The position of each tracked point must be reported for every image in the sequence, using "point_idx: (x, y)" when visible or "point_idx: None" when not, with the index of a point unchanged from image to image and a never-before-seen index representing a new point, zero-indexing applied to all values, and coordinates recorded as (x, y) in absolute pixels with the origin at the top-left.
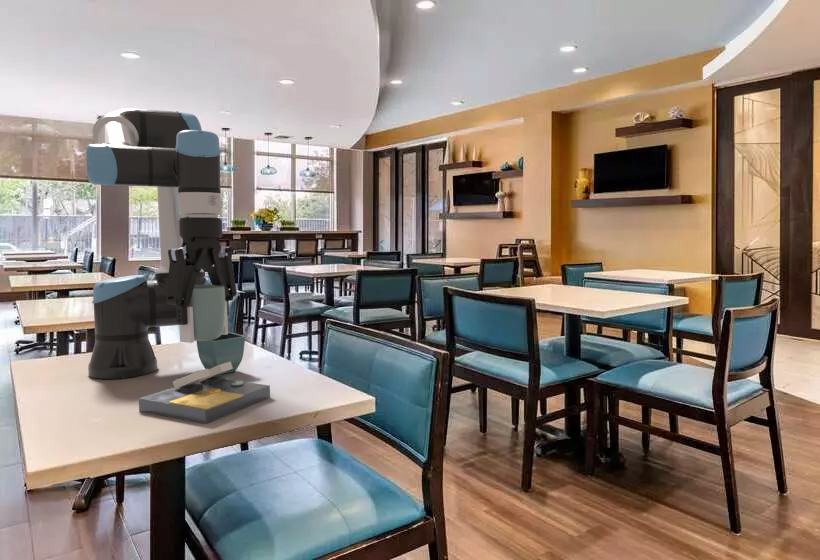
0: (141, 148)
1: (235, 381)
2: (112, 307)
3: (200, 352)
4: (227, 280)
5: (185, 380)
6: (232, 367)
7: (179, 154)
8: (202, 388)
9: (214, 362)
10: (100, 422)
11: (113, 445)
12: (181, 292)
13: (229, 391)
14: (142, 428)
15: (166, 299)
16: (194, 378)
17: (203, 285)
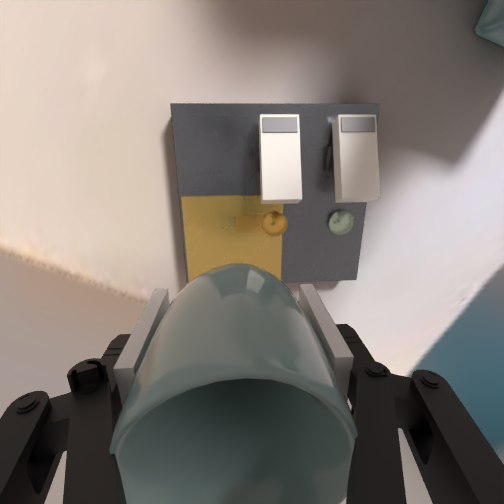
0: None
1: (344, 217)
2: None
3: None
4: (439, 492)
5: (260, 160)
6: (371, 201)
7: None
8: None
9: (486, 29)
10: (89, 95)
11: (46, 227)
12: (41, 499)
13: (294, 241)
14: (118, 202)
15: (4, 416)
16: (261, 191)
17: (326, 404)
